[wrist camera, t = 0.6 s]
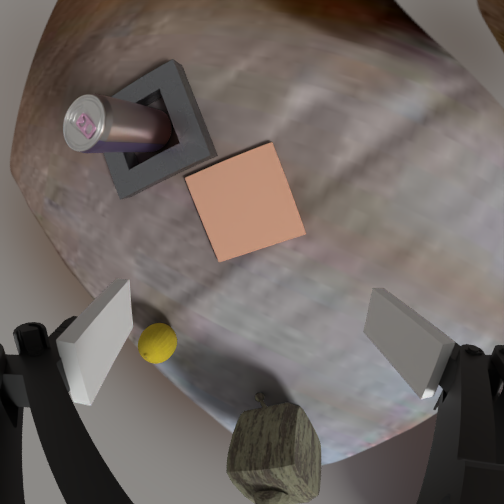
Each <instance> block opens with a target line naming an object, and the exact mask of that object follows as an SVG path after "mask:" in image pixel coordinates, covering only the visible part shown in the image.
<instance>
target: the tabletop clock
mask: <svg viewBox="0 0 504 504" xmlns="http://www.w3.org/2000/svg"><path fill="white" fill-rule="evenodd" d="M255 400H256V401H258V402H260V403H261V406H262V408H258V409H252V410H247V411H244V412H243V413H242V414H241V415H240V417H239V419H238V421H237V424H236V427H235V430H234V432H233V435H232V439H231V444H230V447H229V452H228V457H227V474H228V475H229V478H230V480H231V481H232V483H233V484H234V485H235V486H236V487H237V488H238V490H239V491H240V492H241V493H242V494H243V495H244V496H245V497H246V498H248V499H249V500H251V501H252V502H253V503H255V504H297V503H305V502H309V501H310V500H312V499H313V498H315V497H316V496H318V495H319V491H320V480H321V445H320V441H319V438H318V436H317V434H316V432H315V430H314V428H313V426H312V424H311V422H310V420H309V419H308V417H307V415H306V413H305V412H304V410H303V409H302V408H301V407H300V406H297V405H294V404H291V403H282V404H278V405H273V406H268V407H267V406H266V404H265V403H264V401H263V400H264V395H263V394H262V393H257V394H256V395H255Z"/></svg>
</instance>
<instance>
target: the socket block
mask: <svg viewBox="0 0 504 504" xmlns="http://www.w3.org/2000/svg"><path fill="white" fill-rule="evenodd" d="M112 97H113V98H117V99H121V100H125V101H129V102H133V103H136V104H140V105H144V106H147V105H149V104H150V103H152V102H154V101H156V100H157V99H159V98H161V97H163V99H164V102H165V105H166V108H167V110H168V113H169V116H170V118H171V121H172V124H173V126H174V129H175V132H176V134H177V137H178V139H179V142H180V143H179V144H177V145H175V146H173V147H171V148H169V149H167V150H165V151H163V152H161V153H159V154H157V155H156V156H154V157H152V158H150V159H148V160H146V161H144V162H143V163H141V164H138V161H137V158H136V155H135V153H134V152H105V153H104V156H105V159H106V161H107V164H108V167H109V170H110V173H111V176H112V179H113V181H114V184H115V187H116V190H117V192H118V195H119V198H120V200H121V199H124V198H128V197H132V196H134V195H136V194H138V193H140V192H141V191H143V190H145V189H147V188H149V187H151V186H153V185H155V184H157V183H159V182H161V181H163V180H166V179H168V178H170V177H172V176H174V175H176V174H178V173H180V172H182V171H184V170H187V169H189V168H191V167H193V166H195V165H198V164H200V163H202V162H204V161H207V160H209V159H211V158H214V157H216V156H218V155H217V153H216V150H215V148H214V145H213V142H212V140H211V137H210V135H209V132H208V130H207V127H206V125H205V122H204V120H203V117H202V115H201V112H200V109H199V107H198V104H197V102H196V99H195V97H194V94H193V92H192V89H191V87H190V84H189V82H188V79H187V77H186V74H185V72H184V69H183V67H182V65H181V64H179V63H178V62H176V61H175V60H173V59H172V60H171V61H169V62H167V63H165V64H163V65H162V66H160V67H158V68H156V69H155V70H153V71H151V72H149V73H148V74H146V75H144V76H143V77H141V78H139V79H138V80H136V81H135V82H133V83H131V84H130V85H128V86H127V87H125V88H124V89H122V90H121V91H119V92H118V93H116V94H115V95H113V96H112Z"/></svg>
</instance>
